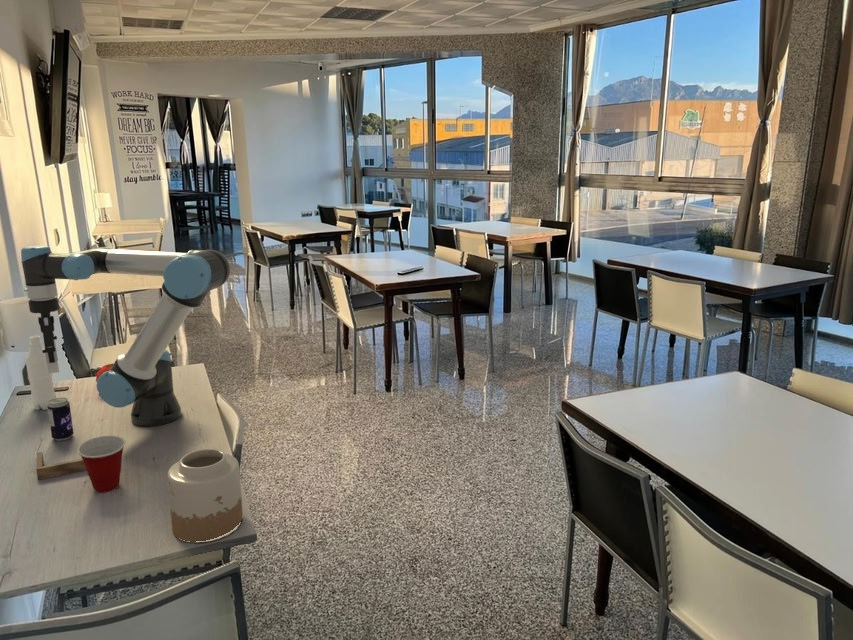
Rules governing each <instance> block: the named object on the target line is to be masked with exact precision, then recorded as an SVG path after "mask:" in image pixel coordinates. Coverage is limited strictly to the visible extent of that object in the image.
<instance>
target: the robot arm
mask: <svg viewBox="0 0 853 640" xmlns="http://www.w3.org/2000/svg"><path fill="white" fill-rule="evenodd" d="M20 255H21V258H20V259H21V265H22V271H23V274H24V275H23V276H24V281H25V282H24V283H25V287H26V288H24V289H23V291H24V292H26V293H27V298H28V301H27V302H28V308H29V312H30V313H32V314H39V315H40V316H37V317H38V318H37V321H38V325H39V326H40V327H39V329H40V332H41V334H42V335H43V336H42V337H43V344H44V350H42V352H43V353H45V354H46V361H47V367H48V374H50V373H53V374H55V373H56V374H57V373H59V372H60V369H59V362H58V361H59V359H58V352H57V351H58V350H57V345H56V340H58V336H57V335H55V333H54V331H55V318H54V315H52V314H51V313H52V312H57V311H58V310H59V309H60V306H59V299H58V298H57V296H58V290H57V283H56V280H70V281H71V280H73V281H79V280H80V281H81V280H88V279H89V278H91V276H92V275H96V274H120V275H133V276H152V277H154V276H155V277H163V280H164V281H163V283H162V284H161V290H162V293H163V294H162V295H161V297H160V299H159V300H158V302H157V304H156V305H155V307H154V308H153V310H152V312H151V313H150V315H149V317H148V318H147V320H146V321H145V323H144V325H143V327H142V328H141V329H140V331H139V332H138V335H136V337H135V339H134V341H133V342H132V344H131V346H130V347H129V349H128V351H127V352H122V353H120V354H119V355H118V356H117V358H116V359H115V361H114V363H112V364H113V366H112V367H111V369H110V370H109V371H106V372H104V373H103V374H102V375H100V376H99V378H98V380H97V382H96V390H97V392H98V395H99V397H100V398H101V399H102V400H103V402H104V403H106V404H108V406H111V407H113V408H117V409H118V408H125V407H127V406H130V405H132V407H131V412H130V421H131V423H132V424H134V425H135V426H136V425H137V426H139V427H155V426H160V425H165V424H168V423H172V422H174V421H176V420H178V419H179V418H180V417H181V416H182V408H181V405H180V403H179V401H178V399H177V396H176V395H175V392H174V383H173V370H172V359H171V353H170V351H169V350H167V348H168V346H169V345H170V343H171V341H173V339H174V337H175V336H176V334H177V333H178V331H179V329H180V328H181V326H182V324H183V323H184V322H185V320H186V318H187V317H188V315H189V314H190V312H191V311H192V309H197V308H199V307H201V305H202V304H203V302H204V301H205V299H206V297H207V295H208V294H209V293H210V292H211V291H213V290H216V289H217V288H220V287H222V286H223V285H224V284H225V283H226V282H228V279H229V277H230V274H231V265H230V263H229V260H228V259H227V257H226V256H225V255H224V254H223V253H221V252H220V251H217V250H215V249H204V250H203V249H202V250H201V249H199V250H198V249H197V250H196V249H190V250H188V252H173V251H153V250H135V249H134V250H133V249H132V250H131V249H117V248H111V247H107V246H101V247H100V246H99V247H96V248H91V249H87V250H86V249H85V250H81V251H74V252H69V253H56V252H55V253H54V252H52V250H51V247H50V246H49V245H29V246H24V247H22V248H21V249H20ZM180 415H181V416H180ZM178 417H179V418H178ZM177 418H178V419H177ZM175 419H176V420H175Z"/></svg>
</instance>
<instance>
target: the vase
mask: <svg viewBox="0 0 853 640" xmlns="http://www.w3.org/2000/svg"><path fill="white" fill-rule="evenodd" d="M167 486H168V487H167V488H168V499H169V509H170V510H169V511H170V518H171V527H172V528H171V529H172V533H173V535H174V537H175V538H177V537H178V538H180V539H182V540H185V541H190V542H196V541H206V540H210V539H214V538H217V537H219V536H222V535H224V534H226V533H228V532H230V531H231V530H233V529H234V528H235V527H236V526H237V525H239V523H240V522H241V520H242V521H243V518H242V516H243V502H242V501H243V500H242V499H243V498H242V489H241V487H242V486H241V471H240V463H239V461H238V459H237V458H236V457H235V456H233V455H231V454H228V453H225V452H224V451H223V450H220V449H217V448H203V449H197V450H193V451H191V452H188V453H186V454H185V455H183V456H182V457H181V458H180V460H178V461H176V463H174V464H172V465H171V466H170V468H169V469H168V471H167ZM243 517H244V516H243ZM178 538H177V539H178Z"/></svg>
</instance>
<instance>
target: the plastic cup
mask: <svg viewBox="0 0 853 640" xmlns="http://www.w3.org/2000/svg"><path fill="white" fill-rule="evenodd" d="M125 445H126V440H125V439H124V437H122V436H119V435H110V434H109V435H101V436H100V435H99V436H97V437H92V438H90V439H87V440H85V441H83V442H82V443H81V444H80V445H78V447H77V450H76V451H77V453H78V455H79V456H80V457H81V459H83V461H84V463H85V466H86V469H87V470H86V472H87V475H88V478H89V480H90V482H91V486H92V487H93V489H94V491H95V492H97V493H106V492H107V493H108V492H111V491H113V490H115V489H117V488H119V486H120V483H121V481H120V480H121V473H122V462H123V460H122V458H123V450H124V447H125Z"/></svg>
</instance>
